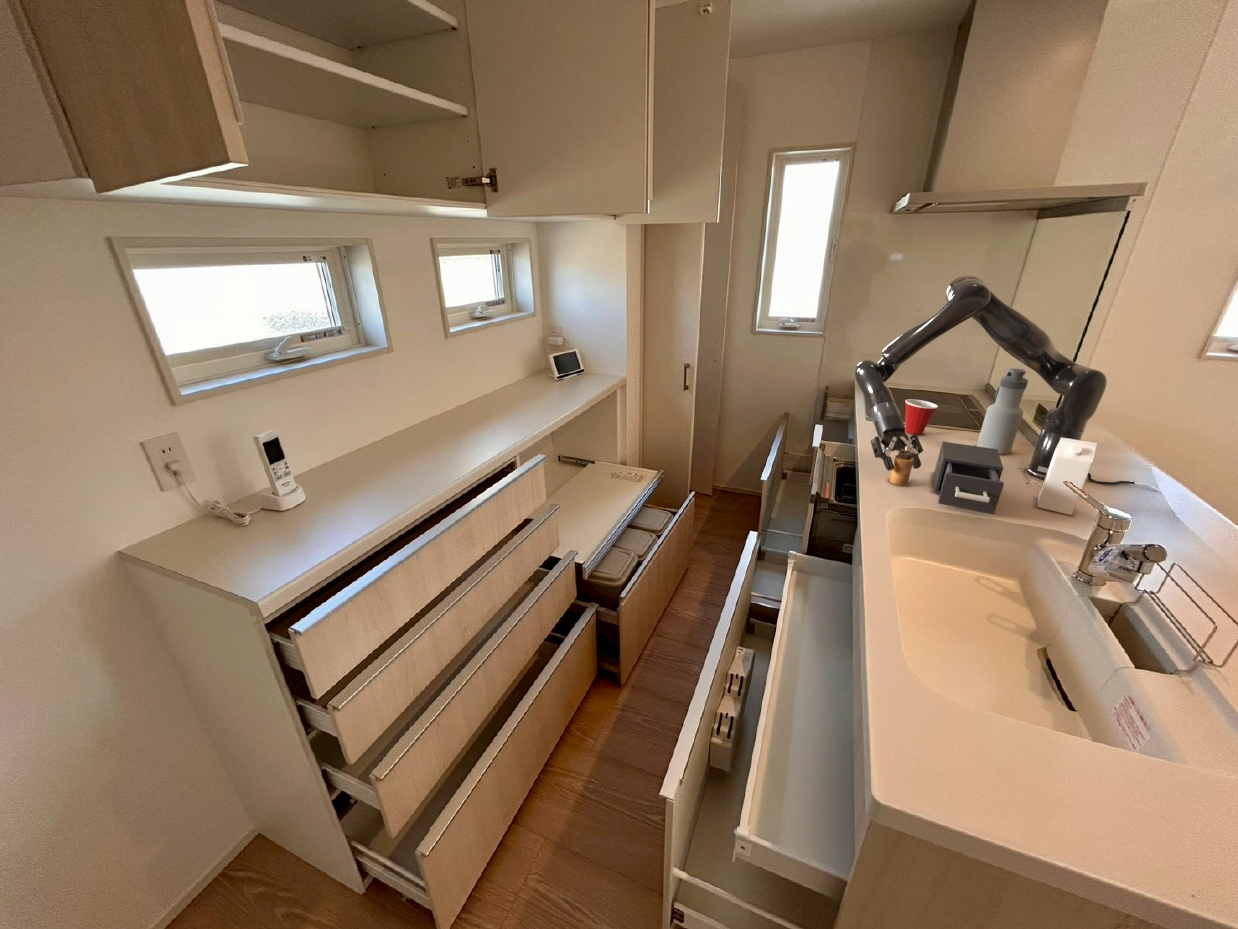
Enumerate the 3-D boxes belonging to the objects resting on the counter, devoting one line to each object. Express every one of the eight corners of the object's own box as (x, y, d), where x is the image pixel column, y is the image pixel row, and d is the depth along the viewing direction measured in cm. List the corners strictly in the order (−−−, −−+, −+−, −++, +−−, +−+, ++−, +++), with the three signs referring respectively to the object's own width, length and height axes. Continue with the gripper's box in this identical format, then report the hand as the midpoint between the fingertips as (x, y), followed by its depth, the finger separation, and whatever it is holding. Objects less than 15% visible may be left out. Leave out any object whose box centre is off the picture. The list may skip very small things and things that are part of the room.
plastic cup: (935, 438, 183) (944, 406, 178) (904, 436, 185) (911, 405, 180) (924, 428, 193) (931, 398, 188) (894, 427, 195) (901, 397, 190)
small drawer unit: (992, 503, 135) (1003, 467, 131) (934, 492, 142) (943, 458, 137) (986, 482, 148) (997, 449, 144) (933, 473, 154) (942, 441, 150)
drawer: (996, 523, 124) (1006, 491, 120) (938, 511, 129) (946, 480, 126) (988, 492, 139) (997, 463, 136) (937, 483, 145) (944, 455, 142)
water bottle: (974, 442, 178) (997, 365, 168) (1007, 447, 174) (1033, 367, 163) (977, 452, 170) (1002, 371, 159) (1012, 457, 166) (1040, 374, 155)
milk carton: (1037, 498, 138) (1060, 433, 131) (1071, 505, 134) (1097, 439, 126) (1036, 507, 133) (1060, 441, 125) (1071, 515, 129) (1098, 447, 121)
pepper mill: (907, 481, 149) (915, 451, 145) (907, 487, 145) (914, 457, 141) (890, 477, 151) (896, 448, 147) (889, 483, 147) (895, 454, 144)
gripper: (900, 424, 156) (917, 471, 150) (858, 426, 154) (874, 475, 148) (916, 412, 149) (935, 462, 143) (872, 414, 147) (890, 465, 141)
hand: (904, 468), depth 145 cm, fingers open, 8 cm apart
